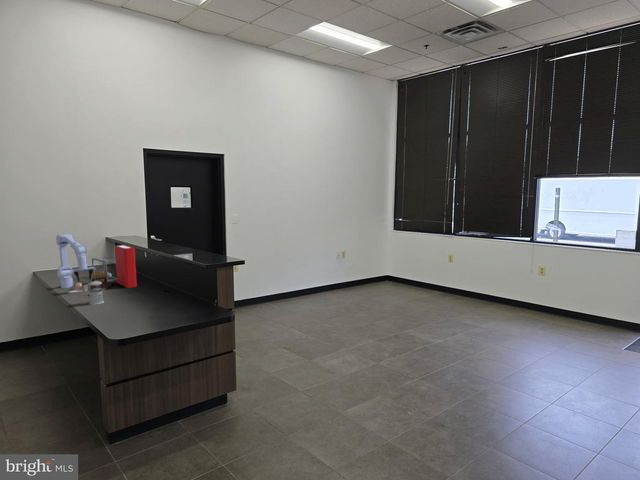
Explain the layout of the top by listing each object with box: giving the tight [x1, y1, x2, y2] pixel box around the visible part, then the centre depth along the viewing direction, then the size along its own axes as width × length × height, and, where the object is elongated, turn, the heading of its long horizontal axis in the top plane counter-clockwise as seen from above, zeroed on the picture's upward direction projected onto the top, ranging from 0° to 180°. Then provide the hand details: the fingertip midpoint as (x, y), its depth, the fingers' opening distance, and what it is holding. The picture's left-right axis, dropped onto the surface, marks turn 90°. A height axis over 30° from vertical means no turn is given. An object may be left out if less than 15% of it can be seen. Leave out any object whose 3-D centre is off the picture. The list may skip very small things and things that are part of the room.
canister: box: [74, 282, 83, 291], centre depth 329 cm, size 4×4×4 cm
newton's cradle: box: [91, 256, 117, 282], centre depth 372 cm, size 30×10×18 cm, turn 48°
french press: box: [88, 267, 105, 306], centre depth 293 cm, size 10×12×25 cm
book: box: [114, 243, 138, 289], centre depth 348 cm, size 27×8×32 cm, turn 41°
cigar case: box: [91, 269, 108, 284], centre depth 353 cm, size 11×2×12 cm, turn 124°
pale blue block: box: [67, 284, 89, 294], centre depth 321 cm, size 6×12×6 cm, turn 98°
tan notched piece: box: [73, 281, 93, 291], centre depth 329 cm, size 6×12×6 cm, turn 98°
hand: (84, 280), depth 319 cm, fingers open, 7 cm apart
